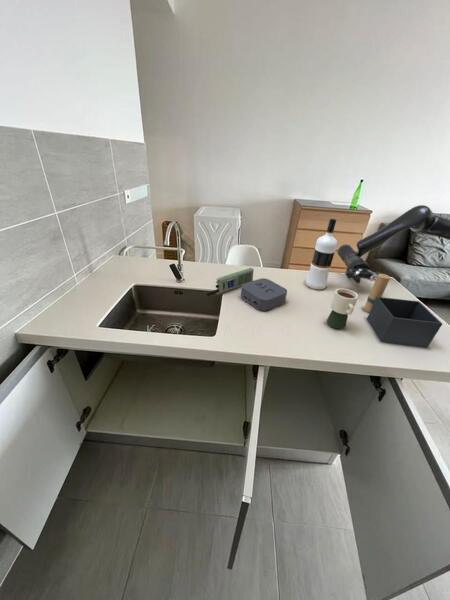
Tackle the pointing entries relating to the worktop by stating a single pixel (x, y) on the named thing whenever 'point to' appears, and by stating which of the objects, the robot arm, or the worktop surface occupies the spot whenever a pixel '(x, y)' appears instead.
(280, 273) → the worktop surface
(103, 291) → the worktop surface
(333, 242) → the vodka
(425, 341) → the bin
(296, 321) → the worktop surface
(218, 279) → the handheld radio
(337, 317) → the character mug
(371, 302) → the banded cardboard tube
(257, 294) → the streaming box
